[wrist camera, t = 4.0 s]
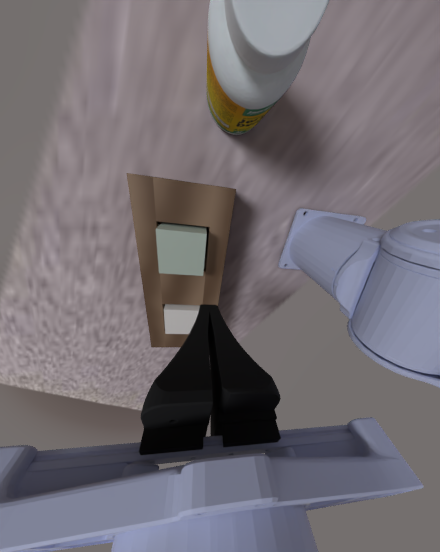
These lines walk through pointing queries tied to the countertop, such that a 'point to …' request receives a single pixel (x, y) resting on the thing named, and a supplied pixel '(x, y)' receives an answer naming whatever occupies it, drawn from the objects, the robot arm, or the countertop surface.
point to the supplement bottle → (255, 55)
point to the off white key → (180, 318)
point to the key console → (183, 210)
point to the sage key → (181, 248)
